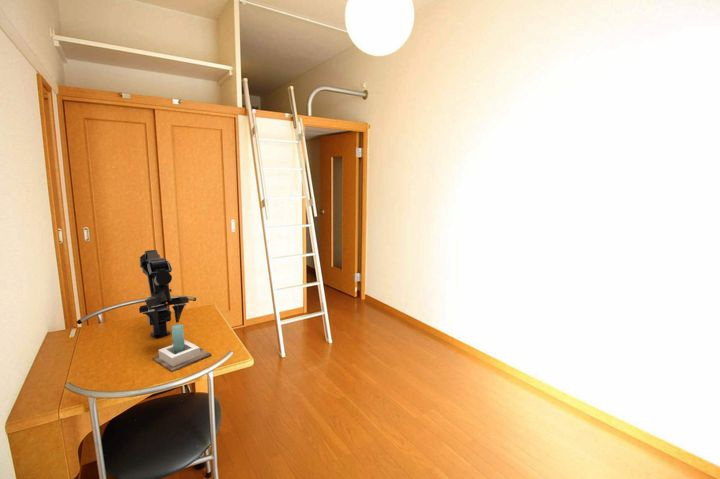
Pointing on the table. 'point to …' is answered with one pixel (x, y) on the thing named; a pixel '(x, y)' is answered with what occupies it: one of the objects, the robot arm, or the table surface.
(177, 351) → the teal peg
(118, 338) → the table surface
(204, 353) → the base board
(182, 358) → the socket
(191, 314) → the table surface
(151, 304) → the robot arm
